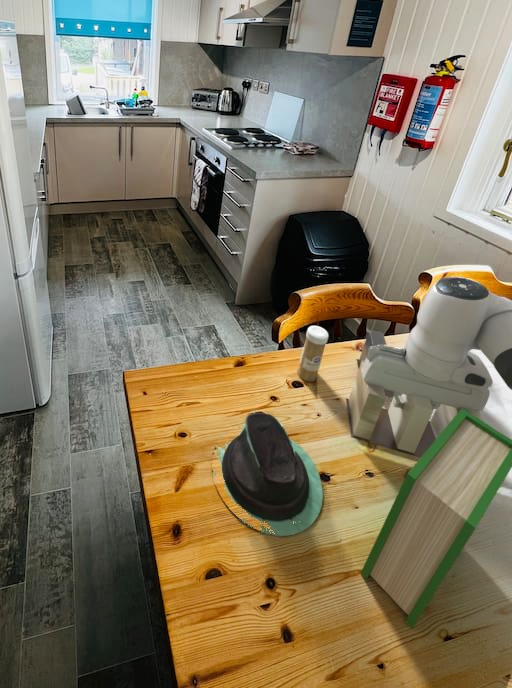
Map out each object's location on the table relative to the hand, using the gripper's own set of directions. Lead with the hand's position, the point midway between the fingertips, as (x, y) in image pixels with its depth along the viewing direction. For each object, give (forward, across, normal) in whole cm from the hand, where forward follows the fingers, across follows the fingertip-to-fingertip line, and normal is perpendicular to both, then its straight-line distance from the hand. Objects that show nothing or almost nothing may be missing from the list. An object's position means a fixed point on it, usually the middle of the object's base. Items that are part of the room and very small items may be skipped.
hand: (409, 408), depth 79 cm
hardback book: (+8, -3, -24) cm, 25 cm away
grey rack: (+8, +4, +14) cm, 16 cm away
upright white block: (+7, 0, 0) cm, 7 cm away
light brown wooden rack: (+8, 0, 0) cm, 8 cm away
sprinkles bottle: (+8, -18, +10) cm, 22 cm away
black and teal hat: (+8, -26, -18) cm, 33 cm away
